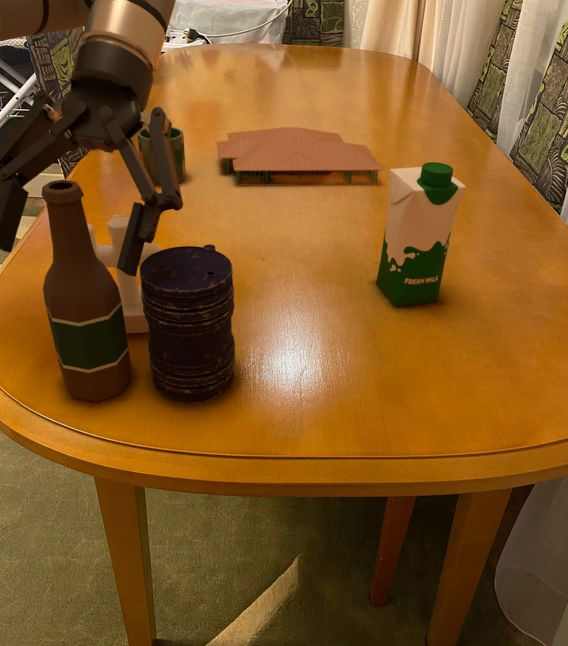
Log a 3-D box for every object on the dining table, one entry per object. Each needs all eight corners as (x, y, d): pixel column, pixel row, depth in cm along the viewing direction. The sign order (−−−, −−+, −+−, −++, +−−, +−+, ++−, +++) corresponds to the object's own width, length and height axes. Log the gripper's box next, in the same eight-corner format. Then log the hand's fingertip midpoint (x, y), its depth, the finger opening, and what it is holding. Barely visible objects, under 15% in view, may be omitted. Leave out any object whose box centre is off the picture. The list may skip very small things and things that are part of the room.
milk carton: (392, 311, 87) (415, 176, 75) (367, 280, 94) (385, 151, 82) (446, 304, 89) (476, 172, 77) (418, 273, 96) (442, 148, 84)
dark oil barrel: (135, 389, 70) (114, 250, 59) (179, 344, 78) (167, 213, 67) (211, 414, 68) (204, 273, 57) (249, 364, 75) (249, 232, 64)
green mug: (193, 181, 121) (191, 136, 115) (153, 189, 117) (148, 142, 111) (168, 163, 128) (164, 119, 123) (129, 170, 124) (123, 125, 118)
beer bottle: (103, 353, 75) (69, 163, 61) (147, 378, 72) (121, 184, 57) (49, 384, 70) (-3, 185, 56) (93, 413, 67) (51, 209, 52)
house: (215, 147, 138) (213, 110, 133) (355, 148, 143) (359, 112, 138) (220, 186, 120) (219, 145, 115) (381, 185, 125) (386, 145, 120)
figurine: (170, 337, 79) (160, 231, 70) (94, 341, 77) (74, 234, 68) (169, 307, 84) (160, 206, 75) (99, 310, 83) (81, 207, 74)
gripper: (243, 98, 63) (194, 292, 60) (29, 68, 67) (-27, 250, 64) (224, 52, 56) (167, 271, 53) (-15, 22, 60) (-80, 224, 57)
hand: (61, 260), depth 59 cm, fingers open, 13 cm apart
